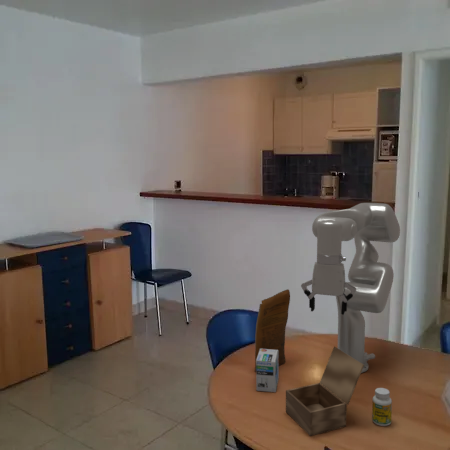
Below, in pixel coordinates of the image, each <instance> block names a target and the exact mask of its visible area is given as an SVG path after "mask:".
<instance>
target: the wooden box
mask: <svg viewBox="0 0 450 450" xmlns="http://www.w3.org/2000/svg"><path fill="white" fill-rule="evenodd" d="M347 406H348V404H346V403H345V402H344V401H342V400H341V399H340V398H339V397H337V396H336V395H335V394H333V393H332V392H331V391H330V390H328V389H327V388H326V387H324V386H323V385H322V384H321V383H320V382H317V383H312V384H309V385H305V386H300V387H295V388H294V387H293V388H290V389H286V390H285V413H286V414H287V415H288V416H289V417H291V419H292V420H293V421H294V422H295V423H296V424H297V425H299V427H301V428H302V429H303V430H304V432H305V433H307V435H309V437H312V436H315V435H319V434H323V433H326V432H330V431H335V430H338V429H341V428H345V427H347Z"/></svg>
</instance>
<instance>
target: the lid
mask: <svg viewBox="0 0 450 450" xmlns="http://www.w3.org/2000/svg"><path fill="white" fill-rule="evenodd" d="M332 348H333V349H332V351H331V354H330V355H329V358H328V361H327V364H326V366H325V368H324V371H323V373H322V376H321V378H320V382H319V383H320V384H322V385H323V386H324V387H326V388H327V389H328V390H329V391H331V392H332V393H333V394H335V395H336V396H337V397H338V398H340V399H341V400H342V401H344V402H345V403H346V404H347V405H349V404H350V402H351V401H350V400H351V399H352V396H353V394H354V392H355V388H356V386H357V384H358V381H359V379H360V376H361V374H362V373H361V372H362V370H363V367H364V364H362V363H360V362H359V361H357V360H356V359H354V358H352V357H351V356H349V355H348V354H346V353H344V352H343V351H341V350H340V349H338V347H336V346H333V347H332Z"/></svg>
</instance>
